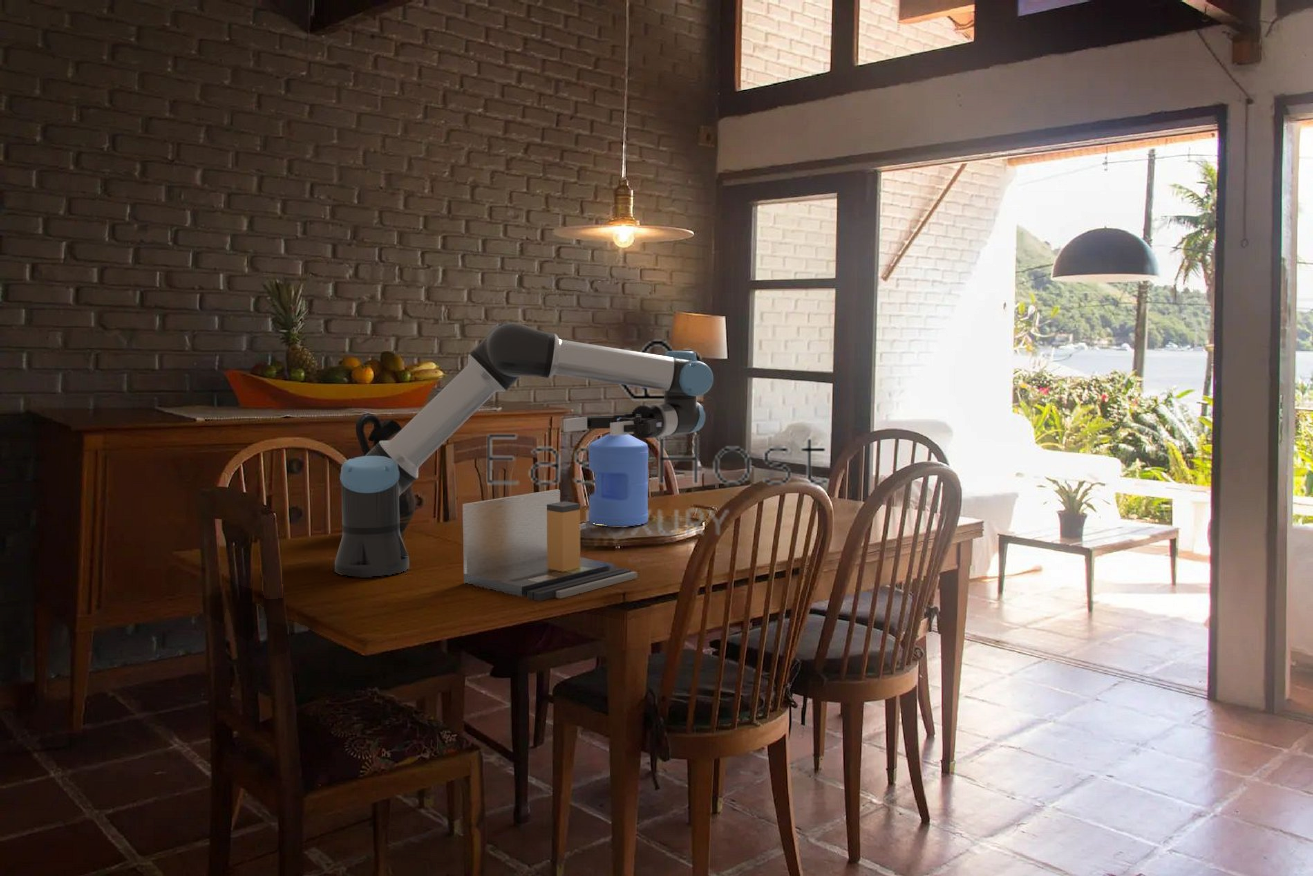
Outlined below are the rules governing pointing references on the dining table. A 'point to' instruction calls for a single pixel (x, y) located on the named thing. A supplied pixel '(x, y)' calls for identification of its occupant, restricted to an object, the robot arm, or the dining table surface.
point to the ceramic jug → (377, 434)
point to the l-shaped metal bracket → (514, 545)
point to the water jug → (619, 481)
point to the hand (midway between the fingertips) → (587, 427)
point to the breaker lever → (563, 536)
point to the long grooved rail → (582, 584)
